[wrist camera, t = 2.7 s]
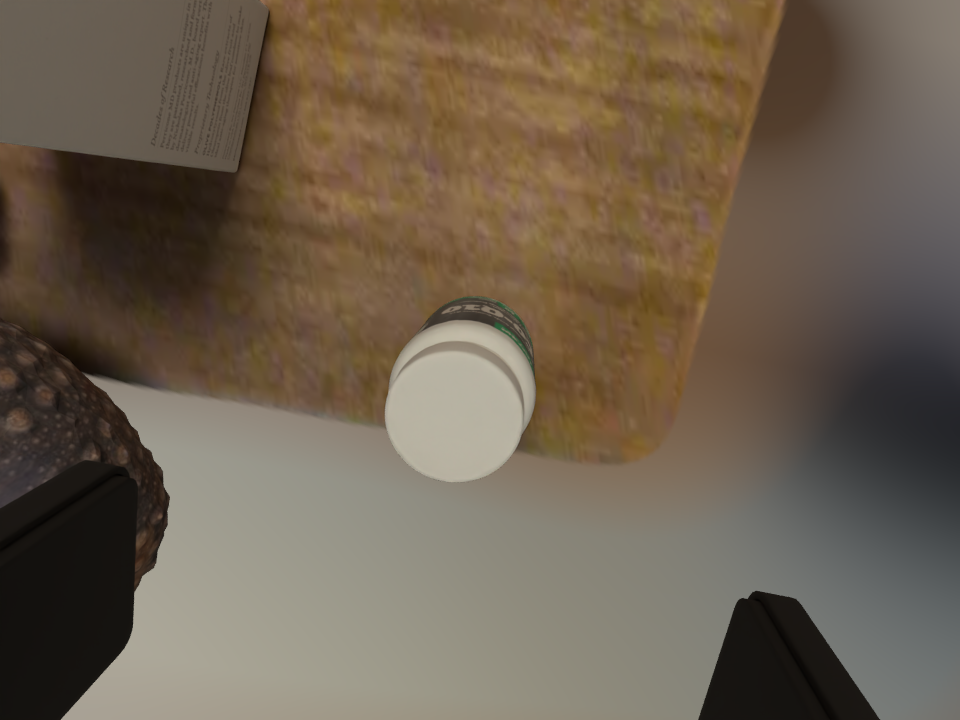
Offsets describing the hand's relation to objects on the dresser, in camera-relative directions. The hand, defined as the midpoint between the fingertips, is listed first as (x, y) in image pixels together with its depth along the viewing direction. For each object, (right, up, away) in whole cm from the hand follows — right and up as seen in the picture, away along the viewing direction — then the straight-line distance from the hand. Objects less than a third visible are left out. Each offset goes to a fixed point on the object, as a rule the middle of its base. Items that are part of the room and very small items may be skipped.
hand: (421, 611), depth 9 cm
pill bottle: (+1, +4, +16) cm, 17 cm away
